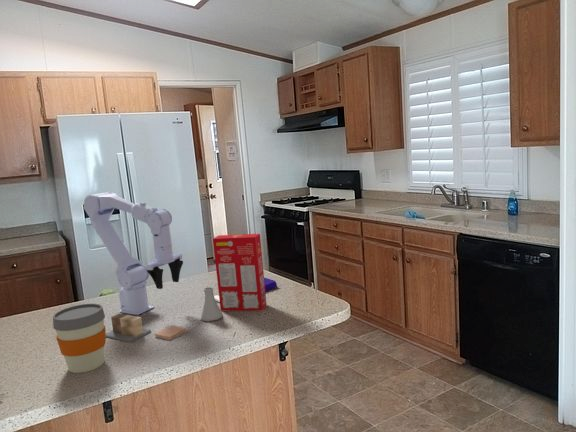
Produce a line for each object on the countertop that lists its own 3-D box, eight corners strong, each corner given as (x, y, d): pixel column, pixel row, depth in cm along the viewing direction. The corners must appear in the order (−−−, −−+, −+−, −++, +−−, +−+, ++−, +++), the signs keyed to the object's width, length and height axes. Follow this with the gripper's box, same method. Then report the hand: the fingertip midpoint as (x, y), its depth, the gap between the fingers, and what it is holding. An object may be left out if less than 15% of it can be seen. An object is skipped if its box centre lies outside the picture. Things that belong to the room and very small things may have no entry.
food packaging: (266, 305, 160) (259, 233, 157) (262, 310, 155) (255, 236, 152) (225, 305, 164) (218, 235, 160) (220, 310, 159) (212, 238, 155)
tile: (155, 334, 140) (169, 337, 137) (172, 325, 146) (186, 328, 143) (155, 338, 140) (169, 341, 137) (172, 330, 146) (186, 332, 143)
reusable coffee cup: (116, 364, 124) (108, 310, 121) (65, 381, 117) (56, 324, 114) (104, 350, 134) (97, 300, 132) (56, 364, 127) (47, 312, 125)
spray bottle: (262, 276, 187) (208, 293, 172) (279, 281, 178) (223, 299, 164) (263, 283, 187) (209, 300, 173) (280, 288, 179) (224, 307, 164)
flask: (218, 322, 148) (215, 291, 147) (197, 322, 150) (193, 292, 148) (225, 313, 155) (222, 284, 154) (205, 313, 157) (202, 285, 155)
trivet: (103, 336, 144) (103, 334, 144) (124, 326, 151) (124, 325, 151) (130, 342, 138) (130, 340, 138) (151, 331, 145) (150, 330, 145)
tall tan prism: (113, 332, 145) (111, 316, 145) (121, 328, 148) (118, 313, 147) (135, 336, 140) (133, 320, 140) (143, 332, 143) (141, 317, 142)
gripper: (155, 251, 149) (160, 292, 151) (186, 241, 161) (191, 279, 163) (139, 250, 152) (145, 290, 154) (171, 241, 165) (176, 278, 167)
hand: (167, 285), depth 159 cm, fingers open, 7 cm apart
